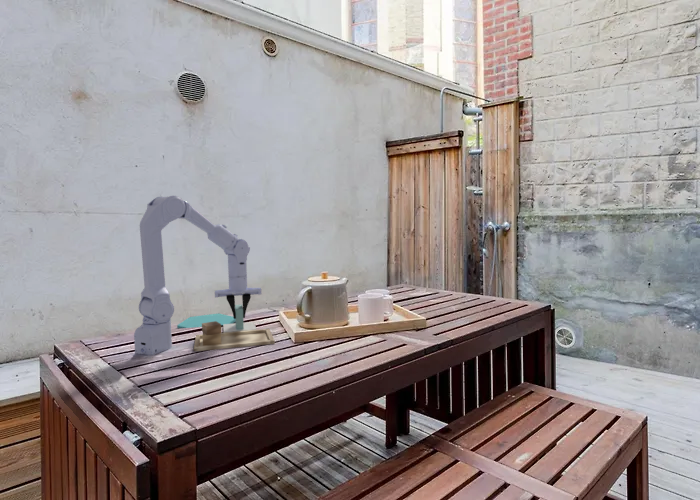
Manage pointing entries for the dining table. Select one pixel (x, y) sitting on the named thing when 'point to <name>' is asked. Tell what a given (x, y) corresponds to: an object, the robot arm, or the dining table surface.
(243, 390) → the dining table surface
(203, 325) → the offcut
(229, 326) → the tile
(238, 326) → the panel
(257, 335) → the wooden tray
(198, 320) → the plaque
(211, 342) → the offcut
